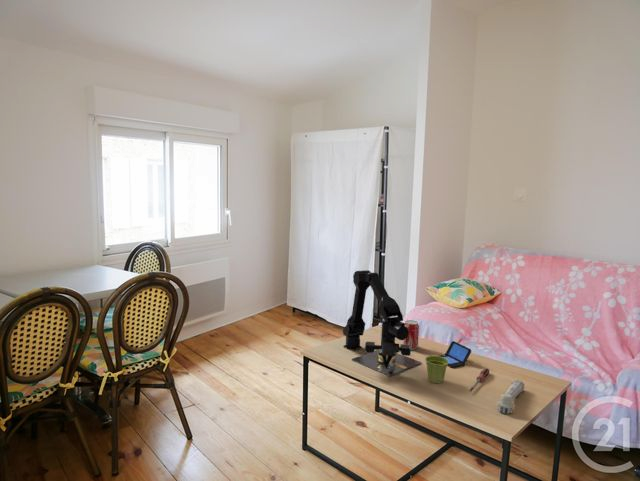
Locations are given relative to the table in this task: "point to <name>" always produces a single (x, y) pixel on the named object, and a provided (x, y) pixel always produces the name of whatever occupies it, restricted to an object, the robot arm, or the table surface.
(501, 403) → the light grey elongated piece
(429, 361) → the plant pot
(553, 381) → the table surface
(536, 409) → the table surface
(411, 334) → the soda can
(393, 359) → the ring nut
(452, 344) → the handheld game console
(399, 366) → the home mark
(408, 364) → the plate
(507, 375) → the table surface
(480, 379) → the screwdriver
